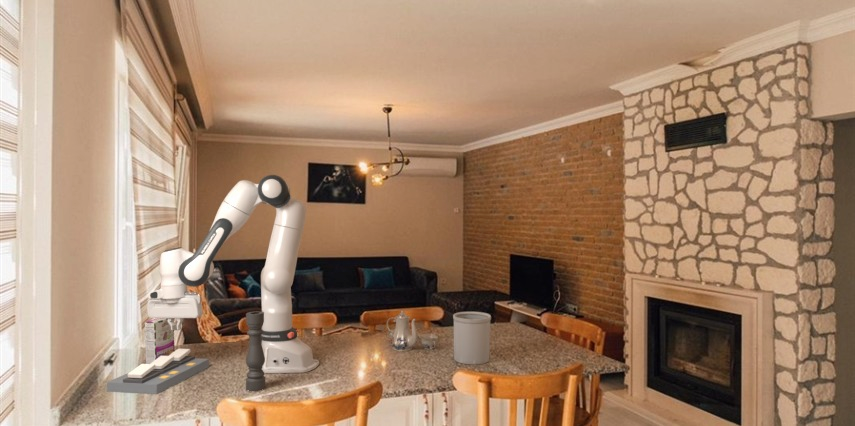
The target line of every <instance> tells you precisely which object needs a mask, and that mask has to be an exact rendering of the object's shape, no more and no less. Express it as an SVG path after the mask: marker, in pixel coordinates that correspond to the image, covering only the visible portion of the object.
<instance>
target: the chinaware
mask: <svg viewBox="0 0 855 426" xmlns="http://www.w3.org/2000/svg"><path fill="white" fill-rule="evenodd" d="M410 317H411V316H409V315H407V314H406V313H405V312H404V310H401V311H400V313H399V314H397V315H395V316H394V317H390V318H388V319H387V321H386V323H385V325H386V328H387V332H386V333H385V336H386V339H388V340H389V339H390V340H389V345H390V346H391V348H392V350H393V351H396V352H409V351H411V350H413V347H414V346H415V345H416V344H417V343H418V340H419V341H420V345H421V346H422V347H424V350H433V349H434V348H435V347H436V344H437V341H438V338H439V337H440V336H438V335H436V334H434V333H431V334H429V335H428V334H426V333H422V334H421V335H419V334H418V330H417V327H416V323H415V322H416V320H417V318H413V319H412V320H411V325H410ZM390 320H393V323H395V328H394V329H390V327H389V322H390ZM410 326H411V329H410ZM388 336H389V337H388Z"/></svg>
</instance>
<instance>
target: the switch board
mask: <svg viewBox="0 0 855 426" xmlns="http://www.w3.org/2000/svg"><path fill="white" fill-rule="evenodd" d="M209 367H210V359H209V358H196V355H186V356H185V357H184V358H182V359H181V360H180V361H174V360H173V361H171V362H170V363H169V364H168V365H166V366H165V367H164V368H162V369H153V370H152V371H150V372H149V373H148V374H147V375H145V376H144V377H143V378H129V377H128V373H129V372H128V373H125V374H123V375H121V376H118V377H116V378H113V379H111V380H109V381H107V382H106V392H111V393H113V392H114V393H128V394H129V393H130V394H143V395H144V394H148V395H149V394H150V395H158V394H159V393H162V392H164V391H165V390H168V389H169V388H172V387H174V386H176V385H177V384H179V383H181V382H183V381H186V380H187V379H189V378H190V377H194V376H195V375H197V374H199V373H200V372H202V371H204V370H206V369H207V368H208V369H209Z"/></svg>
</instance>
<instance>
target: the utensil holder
mask: <svg viewBox="0 0 855 426" xmlns="http://www.w3.org/2000/svg"><path fill="white" fill-rule="evenodd" d="M452 318H453V356H454V357H453V359H454V361H455V362H457V363H459V364H464V365H483V364H486V363H488V362H489V361H490V347H491V346H490V344H491V343H490V342H491V320H492V316H491V314H489V313H487V312H482V311H459V312H456V313H454V314H452Z"/></svg>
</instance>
